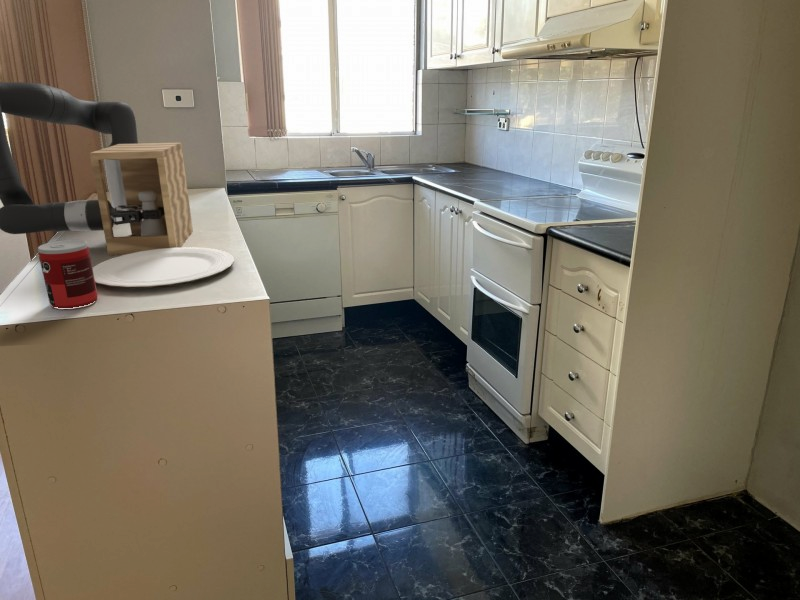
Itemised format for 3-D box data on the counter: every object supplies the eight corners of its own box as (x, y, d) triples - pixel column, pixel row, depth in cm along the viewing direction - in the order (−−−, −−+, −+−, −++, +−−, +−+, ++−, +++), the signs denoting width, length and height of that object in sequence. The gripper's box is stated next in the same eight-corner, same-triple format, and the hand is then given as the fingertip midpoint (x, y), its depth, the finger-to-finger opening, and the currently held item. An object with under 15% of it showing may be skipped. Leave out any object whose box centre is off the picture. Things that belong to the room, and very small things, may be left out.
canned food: (61, 297, 113) (49, 240, 109) (105, 295, 113) (94, 238, 110) (42, 311, 105) (28, 251, 102) (88, 309, 106) (76, 249, 102)
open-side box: (133, 233, 161) (118, 144, 153) (192, 231, 163) (181, 142, 155) (108, 255, 140) (89, 152, 133) (177, 252, 143) (162, 151, 135)
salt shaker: (158, 245, 149) (150, 193, 144) (137, 244, 150) (129, 192, 145) (171, 240, 154) (164, 189, 150) (151, 239, 155) (143, 188, 151)
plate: (240, 251, 144) (239, 243, 143) (228, 289, 117) (227, 280, 116) (111, 258, 139) (109, 250, 138) (68, 299, 112) (66, 290, 111)
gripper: (76, 205, 140) (153, 202, 142) (95, 195, 153) (166, 192, 155) (82, 237, 142) (158, 233, 144) (101, 224, 155) (170, 221, 157)
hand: (162, 212), depth 150 cm, fingers closed on salt shaker, 3 cm apart
